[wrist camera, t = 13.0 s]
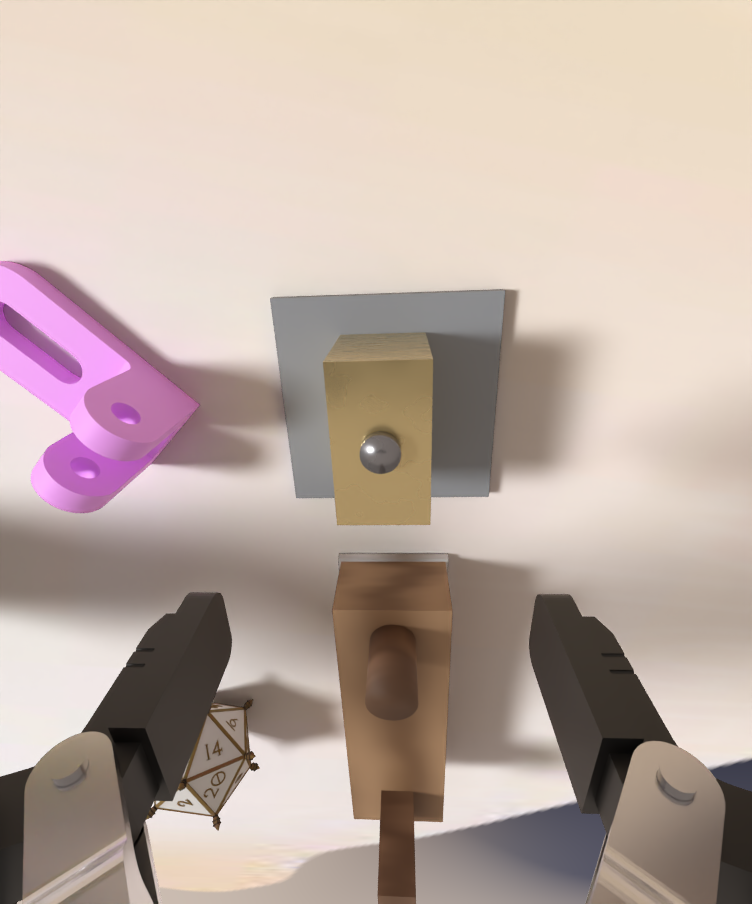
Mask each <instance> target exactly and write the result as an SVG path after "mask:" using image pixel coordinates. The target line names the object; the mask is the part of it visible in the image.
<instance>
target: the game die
mask: <svg viewBox="0 0 752 904" xmlns="http://www.w3.org/2000/svg"><path fill="white" fill-rule="evenodd" d="M252 701H253V699H252V700H249V701H247V702H246V703H245V705H244V707H238V706H232V705H225V704H218V703H212V704H211V707H210V709H209V712H208V714H207V717H206V719H205V722H204V724H203V727H202V729H201V732H200V734H199V737H198V739H197V742H196V744H195V747H194V749H193V752H192V754H191V757H190V759H189V762H188V764H187V767H186V769H185V772H184V774H183V777H182V779H181V782H180V784H179V787H178V789H177V792H176V794H175V797H174V799H173V801H154V806H153V807H152V808H150V811H149V813H148V815H147V818H146V819H149V818H152V816H153V815H154V814H155V812H156V810H157V809H161V810H168V811H175V812H183V813H190V814H197V815H204V816H211V817H213V821H212V822H213V824H214V825H213V827H215V828H216V829H217V830H219V826H220V823H221V822H220V818H219V817H218V813H219V812H220V810H221V809H222V807H223V806H224V804H225V803H226V802H227V800H228V799H229V797H230V796H231V794H232V793H233V791H234V790H235V789H236V787H237V786H238V784H239V783H240V781H241V780H242V778H243V777H244V776H245V774H246V773H247V771H248V770H249V768H250V769H251V771H252V770H254V771H255V770H257V769H259V766H258V764H257V763H251V760H253V758H254V757H255V755H254V753H253V752H252V751H251V752H250V748H249V737H248V727H247V716H246V710H247V709H248V708H249V707H250V706H252Z"/></svg>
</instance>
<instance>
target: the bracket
mask: <svg viewBox="0 0 752 904" xmlns="http://www.w3.org/2000/svg"><path fill="white" fill-rule="evenodd" d="M4 304H7V305H8V306H10V307H11V308H12V309H14V310H15V311H16V312H17V313H19V314H20V315H21V316H23V317H24V318H25V319H26V320H28V321H29V322H30V323H32V324H33V325H34V326H35V327H37V328H38V329H39V330H41V331H42V332H43V333H44V334H46V335H47V336H48V337H50V338H51V339H52V340H53V341H55V342H56V343H57V344H59V345H60V346H61V347H62V348H64V349H65V350H66V351H68V352H69V353H70V354H71V355H73V356H74V357H75V358H76V359H77V360H78V361H79V363H80V365H81V368H82V377H78V376H76V375H74V374H73V373H71V372H70V371H69V370H68V369H66V368H65V367H64V366H62V365H61V364H60V363H58V362H57V361H56V360H54V359H53V358H52V357H51V356H49V355H48V354H47V353H45V352H44V351H43V350H41V349H40V348H39V347H37V346H36V345H35V344H34V343H32V342H31V341H30V340H28V339H27V338H26V337H24V336H23V335H22V334H21V333H19V332H18V331H17V330H15V329H14V328H13V327H12V326H10V324H9V323H8V322H7V320H6V319H5V317H4V313H3V306H4ZM0 371H2V372H3V373H4V374H6V375H7V376H9V377H10V378H11V379H13V380H14V381H15V382H17V383H18V384H19V385H21V386H22V387H24V388H25V389H26V390H28V391H29V392H30V393H32V394H33V395H34V396H36V397H37V398H39V399H40V400H41V401H43V402H44V403H45V404H47V405H48V406H50V407H51V408H52V409H54V410H55V411H56V412H58V413H59V414H60V415H62V416H63V417H65V418H66V419H67V420H69V421H70V425H71V428H72V431H73V433H71V434H69V435H67V436H66V437H64V438H62V439H61V440H59V441H57V442H55V443H54V444H52V445H51V446H49V447H48V448H47V449H46V451H45V452H44V454H43V455H42V457H41V458H40V460H39V461H38V462H37V464H36V465H35V467H34V468H33V470H32V473H31V483H32V486H33V488H34V490H35V491H36V493H37V494H38V495H39V496H40V497H41V498H42V499H43V500H44V501H46V502H47V503H49V504H50V505H52V506H54V507H56V508H58V509H61V510H64V511H68V512H73V513H88V512H93V511H96V510H98V509H100V508H102V507H103V506H104V505H105V504H107V503H108V502H109V501H110V500H111V499H112V498H113V497H114V496H116V495H117V494H118V493H119V492H120V491H121V490H122V489H123V488H125V487H126V486H127V485H128V484H129V483H130V482H131V481H132V480H134V479H135V478H136V477H137V476H138V475H139V474H140V473H141V472H143V471H144V470H145V469H146V468H147V467H148V466H149V465H151V463H152V462H153V461H154V460H155V459H156V457H157V456H158V455H159V454H160V453H161V451H162V450H163V449H164V448H165V447H166V445H167V444H168V443H169V442H170V441H171V439H172V438H173V437H174V436H175V434H176V433H177V432H178V431H179V430H180V428H181V427H182V426H183V425H184V424H185V422H186V421H187V420H188V419H189V418H190V416H191V415H192V414H193V413H194V412H195V410H196V409H197V408H198V407H199V406H200V405H199V404H198V403H197V402H196V401H194V400H193V399H192V398H191V397H189V396H188V395H187V394H186V393H185V392H183V391H182V390H181V389H180V388H178V387H177V386H176V385H175V384H173V383H172V382H171V381H170V380H169V379H167V378H166V377H165V376H164V375H162V374H161V373H160V372H159V371H157V370H156V369H155V368H154V367H152V366H151V365H150V364H149V363H148V362H146V361H145V360H144V359H143V358H141V357H140V356H139V355H138V354H136V353H135V352H134V351H133V350H132V349H130V348H129V347H128V346H127V345H125V344H124V343H123V342H122V341H120V340H119V339H118V338H117V337H116V336H114V335H113V334H112V333H111V332H109V331H108V330H107V329H106V328H104V327H103V326H102V325H101V324H100V323H98V322H97V321H96V320H95V319H93V318H92V317H91V316H90V315H88V314H87V313H86V312H85V311H84V310H82V309H81V308H80V307H79V306H77V305H76V304H75V303H74V302H72V301H71V300H70V299H69V298H68V297H66V296H65V295H64V294H63V293H61V292H60V291H59V290H58V289H56V288H55V287H54V286H53V285H52V284H50V283H49V282H48V281H47V280H45V279H44V278H43V277H42V276H40V275H39V274H38V273H36V272H34V271H33V270H31V269H29V268H27V267H25V266H23V265H20V264H17V263H13V262H7V261H0Z"/></svg>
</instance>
